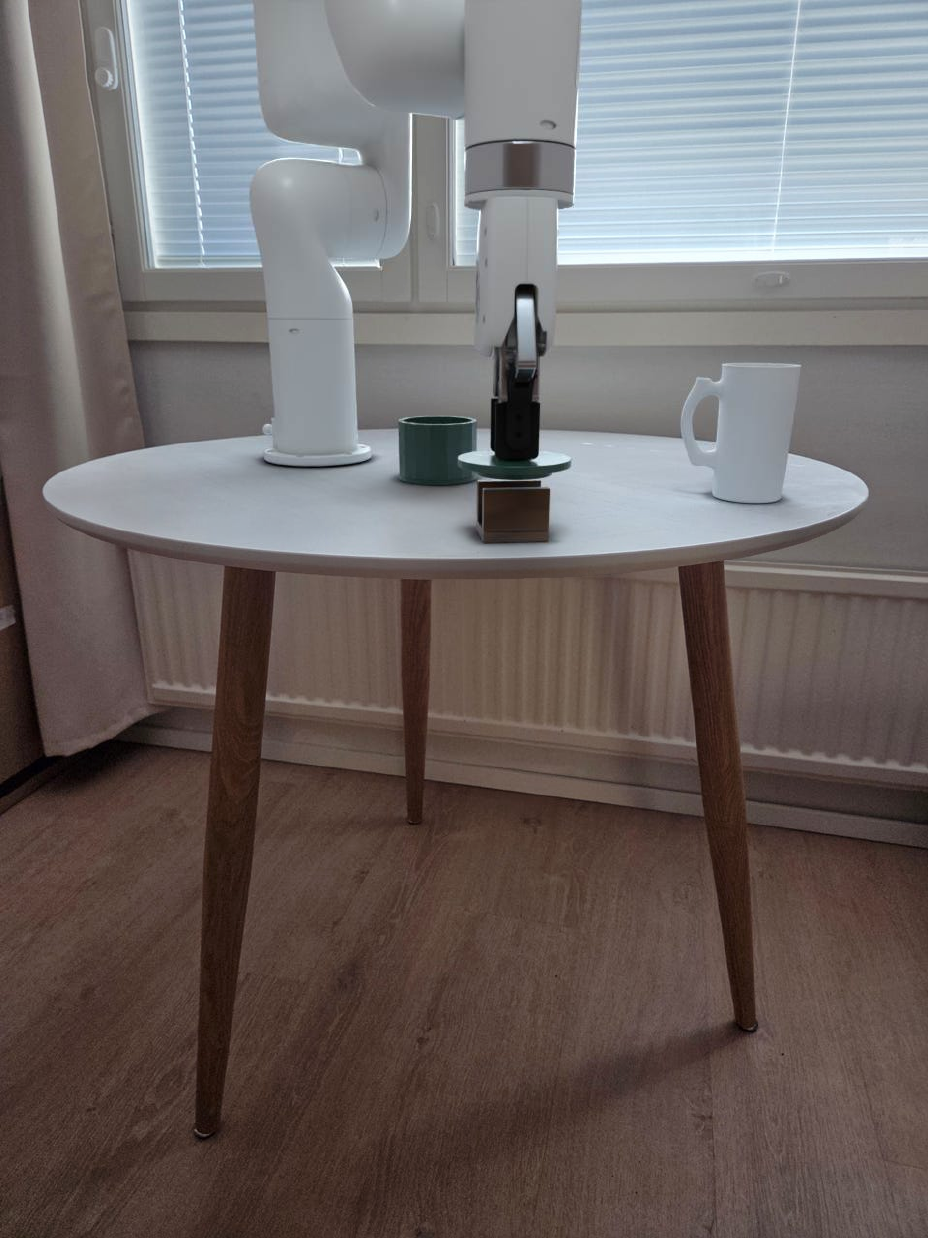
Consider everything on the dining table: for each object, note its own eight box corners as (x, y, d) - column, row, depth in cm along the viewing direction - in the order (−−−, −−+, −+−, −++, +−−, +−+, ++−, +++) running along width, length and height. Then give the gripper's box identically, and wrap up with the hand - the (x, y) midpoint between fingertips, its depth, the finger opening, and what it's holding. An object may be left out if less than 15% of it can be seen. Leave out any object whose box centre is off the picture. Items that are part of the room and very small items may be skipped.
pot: (399, 485, 85) (397, 424, 83) (400, 471, 92) (398, 415, 90) (478, 484, 85) (479, 424, 83) (473, 471, 93) (473, 415, 90)
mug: (774, 490, 82) (790, 362, 78) (792, 505, 76) (811, 367, 72) (669, 488, 83) (680, 362, 79) (679, 502, 77) (691, 366, 73)
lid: (460, 484, 60) (460, 386, 57) (454, 464, 68) (454, 377, 65) (580, 483, 60) (585, 385, 58) (560, 463, 68) (563, 377, 66)
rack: (483, 543, 63) (484, 490, 62) (476, 529, 67) (476, 479, 66) (548, 541, 64) (550, 488, 62) (537, 527, 68) (539, 478, 67)
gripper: (457, 198, 65) (458, 440, 71) (472, 160, 49) (471, 474, 56) (554, 199, 65) (546, 440, 71) (599, 162, 50) (584, 473, 56)
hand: (513, 452), depth 63 cm, fingers closed on lid, 2 cm apart
